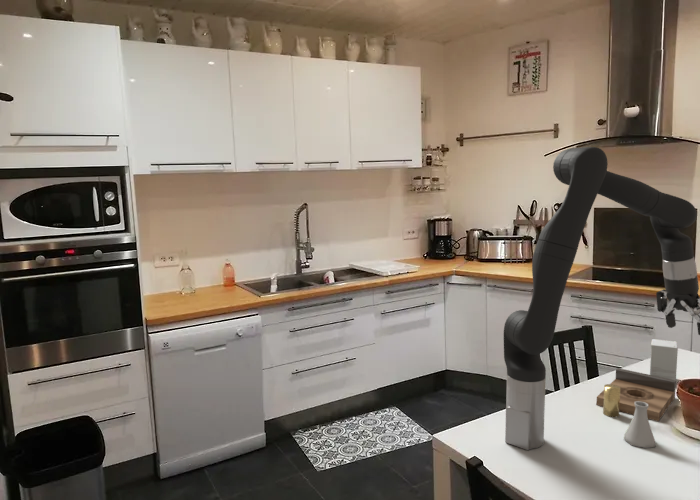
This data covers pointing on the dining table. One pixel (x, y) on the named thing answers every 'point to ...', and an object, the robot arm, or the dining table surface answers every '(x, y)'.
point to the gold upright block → (611, 400)
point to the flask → (640, 428)
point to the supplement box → (663, 359)
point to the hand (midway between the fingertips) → (687, 330)
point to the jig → (642, 392)
